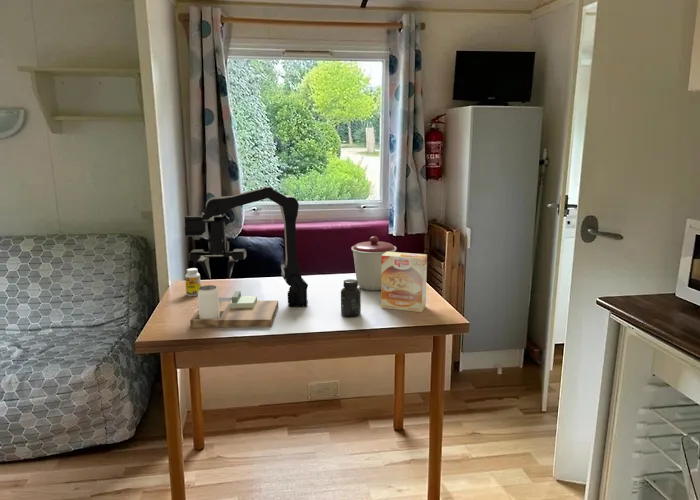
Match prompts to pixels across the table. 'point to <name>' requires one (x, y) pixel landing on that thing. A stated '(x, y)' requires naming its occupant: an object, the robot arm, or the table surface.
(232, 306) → the cover
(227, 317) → the puzzle board
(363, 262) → the canister
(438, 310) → the table surface
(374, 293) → the table surface
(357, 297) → the supplement bottle
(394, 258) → the coffeecake box
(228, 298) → the mat
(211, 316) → the can
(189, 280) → the supplement bottle
